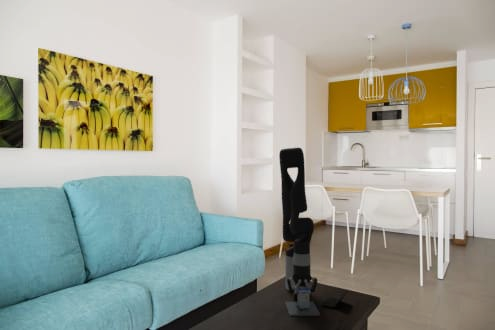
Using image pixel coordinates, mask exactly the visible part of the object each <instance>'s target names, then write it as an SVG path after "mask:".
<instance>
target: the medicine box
mask: <svg viewBox="0 0 495 330" xmlns="http://www.w3.org/2000/svg"><path fill="white" fill-rule="evenodd" d="M309 288H310V287H309ZM309 288H308V287H306V286H299V287H298V290H297V302H295V301H294V302H295V303H296V304H297V305H298V306H299V308H309V302H310V301H309Z"/></svg>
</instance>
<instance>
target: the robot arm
mask: <svg viewBox="0 0 495 330" xmlns="http://www.w3.org/2000/svg"><path fill="white" fill-rule="evenodd" d="M278 156H279V167H280V169H279V170H280V178H281V204H282V207H281V208H282V239H283V241H284V242H287V243H293V246H290V247H287V248H286V249H285V255H284V256H285V289H286V290H287V291H289V292H290V293H292V298H293V302H297V290H298V287H299V286H306V287H308V288H309V302H311V295H312V293H314V292H316V288H317V286H318V285H317V284H318V278H317V277H316V276H314V277H313V276H311V241H312V238H313V234H314V231H315V223H314V221H313V219H312V218H311V217H300V214H302V213H305V212H307V211H308V204H307V196H306V178H305V175H306V171H305V169H306V168H305V155H304V151H303V149H302V148H301V147H291V148H282V149H281V150H280V151H279V155H278ZM296 168H297V174H296V178H295V180H293V178H292V177H291V175H290V173H289V171H288V169H296ZM310 282H312V284H311V288H310V286H309V285H310V284H309V283H310Z"/></svg>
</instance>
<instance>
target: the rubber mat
mask: <svg viewBox="0 0 495 330" xmlns="http://www.w3.org/2000/svg"><path fill="white" fill-rule="evenodd" d="M284 303H285V306H286V310H287V312H288V315H289V317H310V316H311V317H312V316H313V317H314V316H316V317H317V316H318V317H319V316H321V313H320V311H319V309H318V307H317V306H316V304H315V302H314V301H309V308H299V306H298V305H297V304H296V303H295V301H285V302H284Z"/></svg>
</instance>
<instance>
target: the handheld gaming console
mask: <svg viewBox="0 0 495 330" xmlns="http://www.w3.org/2000/svg"><path fill="white" fill-rule="evenodd" d="M347 293H348V291H347V290H346V291H345V292H344V293H343V294H342V295H341V297H339V298H334V297H327V298H326V299H325V300H324V301H323V303H322V304H321V307H322V308H325V309H326V308H327V309H332V310H335V309H336V307H338V305H339V303H340V302H341V301H342V300H343V299H344V297H345V296H346V294H347Z"/></svg>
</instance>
